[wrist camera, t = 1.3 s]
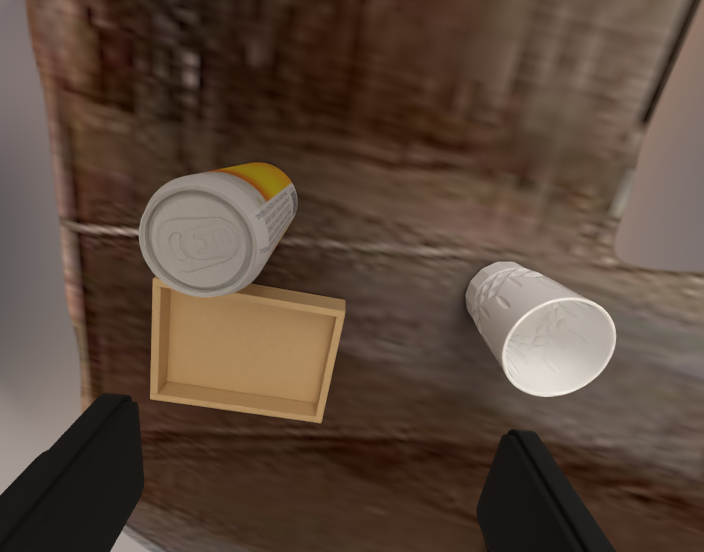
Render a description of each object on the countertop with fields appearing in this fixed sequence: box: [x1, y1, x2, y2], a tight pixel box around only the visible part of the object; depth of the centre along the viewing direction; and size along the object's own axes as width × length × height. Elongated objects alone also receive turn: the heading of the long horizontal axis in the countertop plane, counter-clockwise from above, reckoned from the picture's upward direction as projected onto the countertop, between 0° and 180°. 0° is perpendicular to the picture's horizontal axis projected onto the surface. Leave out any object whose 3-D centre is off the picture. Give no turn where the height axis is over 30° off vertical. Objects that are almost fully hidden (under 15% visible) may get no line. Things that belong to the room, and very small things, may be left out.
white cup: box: [465, 262, 616, 397], centre depth 30 cm, size 8×8×10 cm
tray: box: [150, 276, 346, 423], centre depth 34 cm, size 12×16×3 cm
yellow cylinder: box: [139, 162, 298, 297], centre depth 24 cm, size 6×6×15 cm
